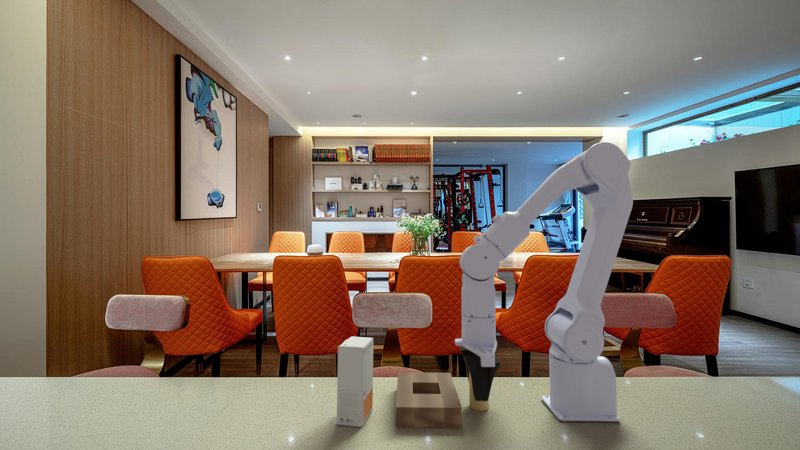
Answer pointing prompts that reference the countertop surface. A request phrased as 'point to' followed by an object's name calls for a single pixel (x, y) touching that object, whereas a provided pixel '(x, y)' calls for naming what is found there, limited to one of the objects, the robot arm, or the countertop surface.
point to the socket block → (427, 401)
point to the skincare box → (355, 381)
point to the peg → (473, 403)
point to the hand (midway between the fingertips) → (478, 395)
